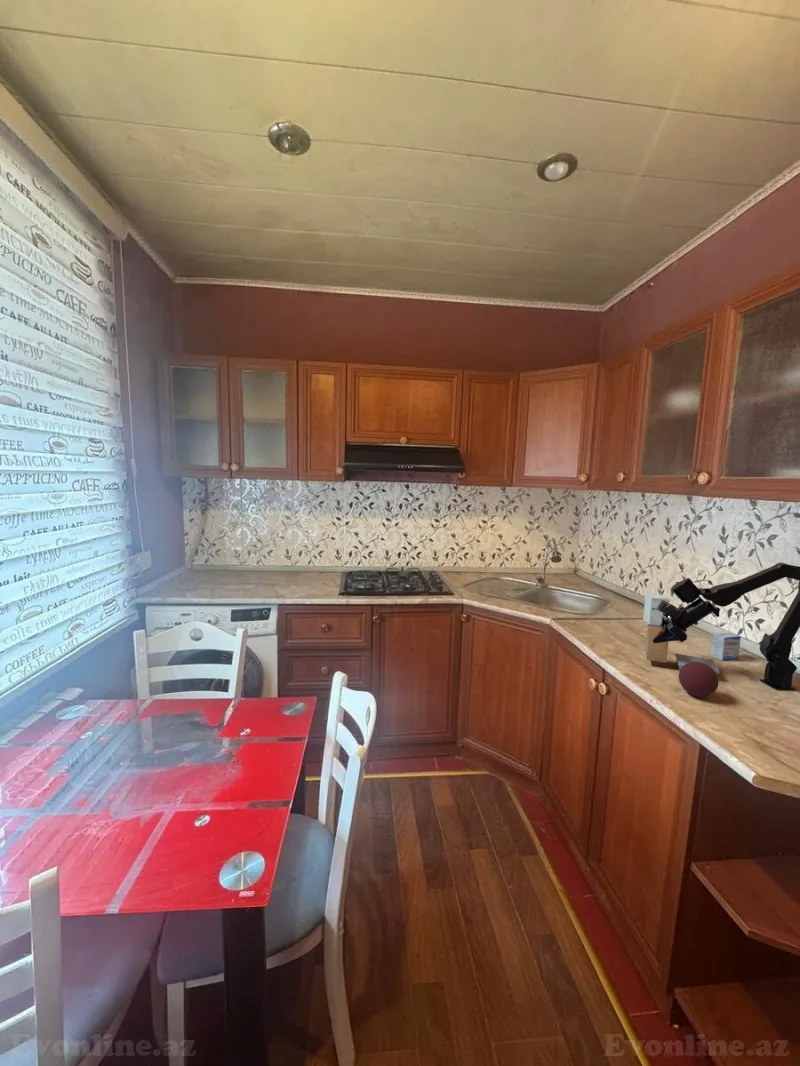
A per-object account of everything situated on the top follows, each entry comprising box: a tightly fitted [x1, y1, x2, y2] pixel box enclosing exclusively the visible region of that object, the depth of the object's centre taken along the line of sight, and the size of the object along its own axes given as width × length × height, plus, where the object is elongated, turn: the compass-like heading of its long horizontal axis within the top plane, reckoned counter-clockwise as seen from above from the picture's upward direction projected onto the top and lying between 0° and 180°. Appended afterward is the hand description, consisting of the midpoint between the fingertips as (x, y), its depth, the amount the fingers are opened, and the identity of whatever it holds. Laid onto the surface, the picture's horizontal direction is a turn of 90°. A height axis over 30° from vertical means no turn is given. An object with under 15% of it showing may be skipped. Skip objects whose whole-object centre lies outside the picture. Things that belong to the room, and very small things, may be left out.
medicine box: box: [710, 632, 741, 661], centre depth 163 cm, size 8×4×9 cm, turn 105°
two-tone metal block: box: [645, 623, 670, 663], centre depth 155 cm, size 6×6×11 cm
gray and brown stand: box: [675, 653, 720, 675], centre depth 151 cm, size 11×11×3 cm
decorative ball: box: [678, 662, 719, 698], centre depth 134 cm, size 10×10×10 cm
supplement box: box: [642, 593, 670, 625], centre depth 201 cm, size 7×7×13 cm
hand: (652, 639), depth 156 cm, fingers closed on two-tone metal block, 6 cm apart
